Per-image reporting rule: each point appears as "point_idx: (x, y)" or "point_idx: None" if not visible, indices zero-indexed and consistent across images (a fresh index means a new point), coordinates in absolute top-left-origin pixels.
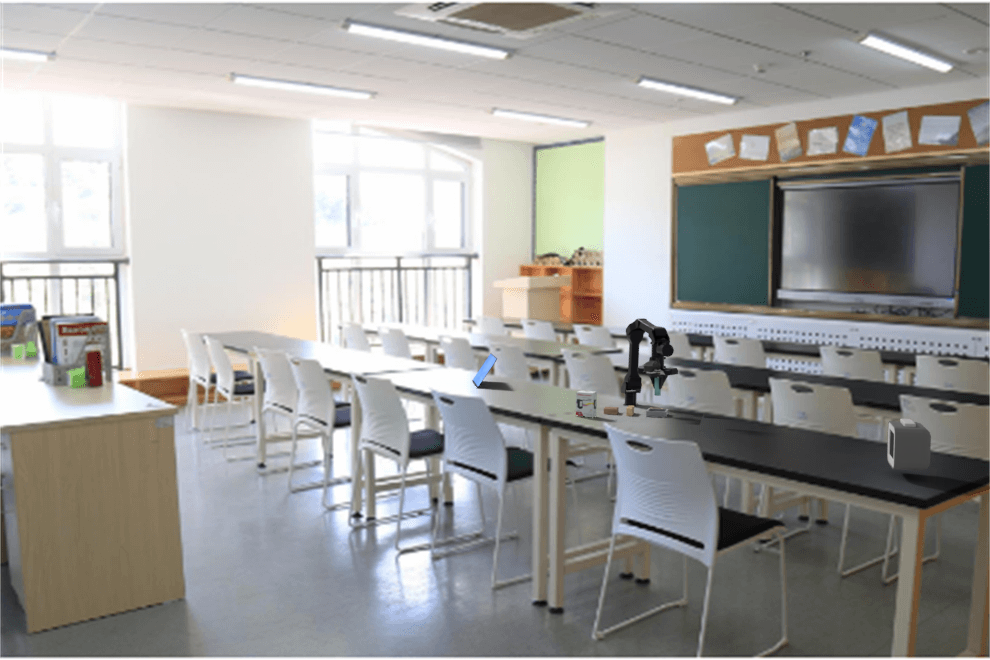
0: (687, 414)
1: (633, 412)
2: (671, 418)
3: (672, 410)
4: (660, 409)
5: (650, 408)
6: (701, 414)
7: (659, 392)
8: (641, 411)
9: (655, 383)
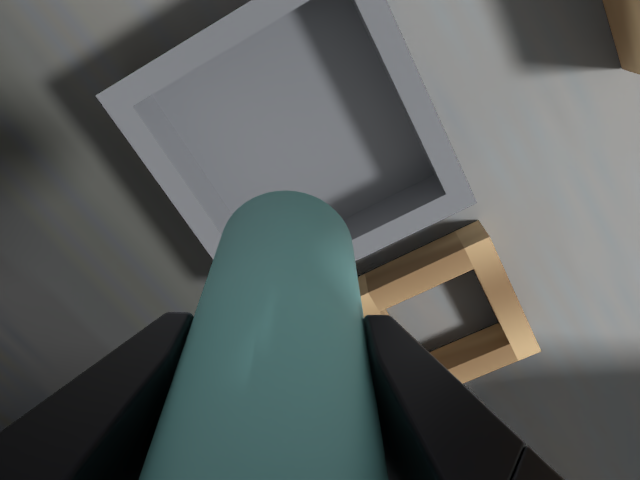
0: None
1: (616, 13)
2: (34, 73)
3: None
4: None
5: (440, 198)
6: None
7: (210, 269)
8: (594, 241)
9: (282, 373)
